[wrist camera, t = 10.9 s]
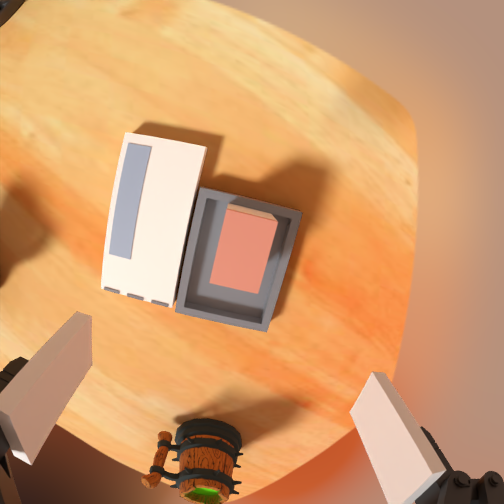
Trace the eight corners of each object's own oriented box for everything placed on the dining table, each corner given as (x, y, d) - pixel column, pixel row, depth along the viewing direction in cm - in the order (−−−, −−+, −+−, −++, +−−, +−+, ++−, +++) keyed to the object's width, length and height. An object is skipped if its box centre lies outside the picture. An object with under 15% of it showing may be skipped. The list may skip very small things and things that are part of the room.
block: (228, 201, 28) (226, 209, 23) (270, 212, 29) (278, 222, 23) (214, 261, 30) (209, 283, 24) (254, 270, 30) (258, 294, 24)
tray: (202, 186, 28) (200, 187, 27) (298, 210, 29) (302, 212, 28) (178, 304, 31) (174, 312, 30) (265, 323, 32) (266, 332, 31)
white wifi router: (131, 134, 27) (125, 131, 25) (207, 148, 27) (205, 146, 26) (106, 282, 30) (100, 288, 29) (174, 301, 31) (171, 308, 30)
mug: (256, 429, 37) (261, 496, 26) (226, 464, 39) (225, 522, 28) (167, 399, 35) (149, 467, 24) (147, 438, 37) (131, 497, 26)
